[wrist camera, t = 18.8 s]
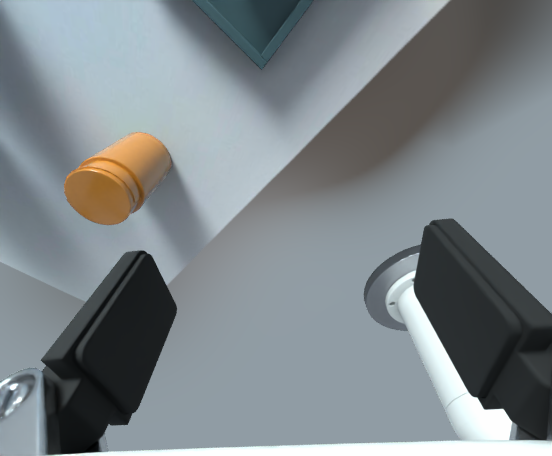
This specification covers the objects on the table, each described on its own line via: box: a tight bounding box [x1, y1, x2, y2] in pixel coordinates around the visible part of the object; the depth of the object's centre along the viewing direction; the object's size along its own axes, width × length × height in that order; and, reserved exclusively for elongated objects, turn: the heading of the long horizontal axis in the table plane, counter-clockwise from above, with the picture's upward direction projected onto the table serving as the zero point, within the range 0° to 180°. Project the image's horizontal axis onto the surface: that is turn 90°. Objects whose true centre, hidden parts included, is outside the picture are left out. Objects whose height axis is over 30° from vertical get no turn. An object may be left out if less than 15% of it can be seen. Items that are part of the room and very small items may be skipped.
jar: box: [64, 132, 171, 225], centre depth 28 cm, size 6×6×10 cm
